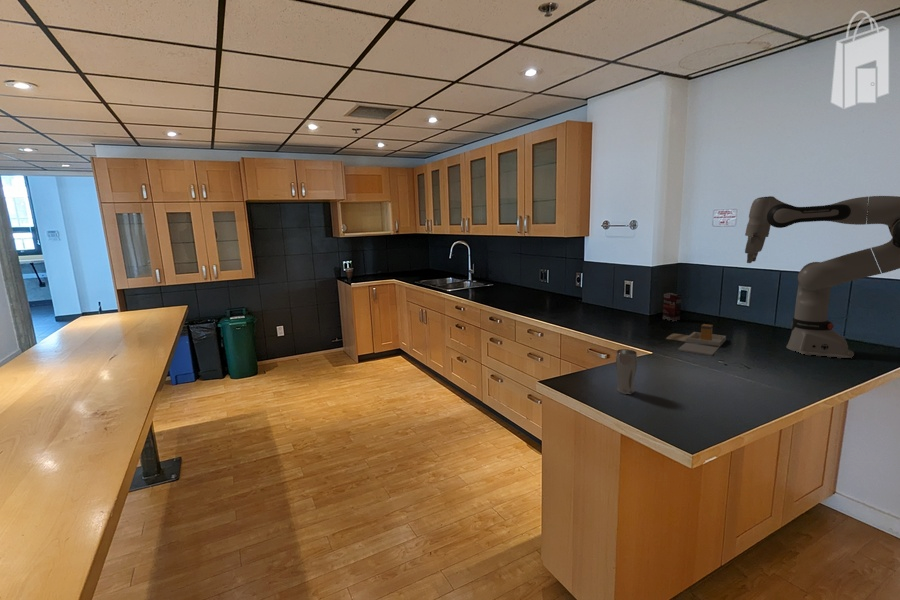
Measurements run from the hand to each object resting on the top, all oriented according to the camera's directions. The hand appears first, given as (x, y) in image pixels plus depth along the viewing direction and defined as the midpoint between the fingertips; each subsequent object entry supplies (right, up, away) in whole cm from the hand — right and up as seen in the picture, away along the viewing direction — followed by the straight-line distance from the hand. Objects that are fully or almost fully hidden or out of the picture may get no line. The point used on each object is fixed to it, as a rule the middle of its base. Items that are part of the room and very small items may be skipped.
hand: (751, 262), depth 197 cm
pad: (-25, -38, +16) cm, 48 cm away
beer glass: (-78, -51, -44) cm, 103 cm away
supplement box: (-9, -30, +55) cm, 63 cm away
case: (-21, -40, +3) cm, 45 cm away
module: (-16, -38, +8) cm, 42 cm away
